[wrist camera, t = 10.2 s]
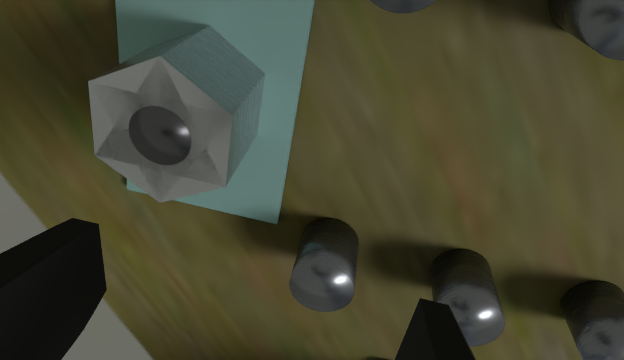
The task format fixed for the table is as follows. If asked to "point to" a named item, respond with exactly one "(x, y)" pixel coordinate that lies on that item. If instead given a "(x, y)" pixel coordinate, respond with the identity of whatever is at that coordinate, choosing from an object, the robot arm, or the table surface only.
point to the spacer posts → (468, 264)
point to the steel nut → (178, 114)
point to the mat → (258, 49)
